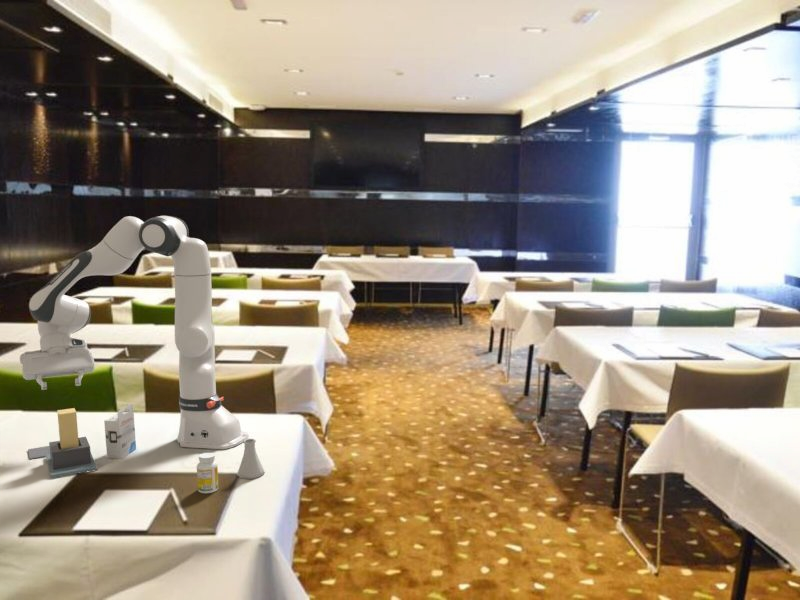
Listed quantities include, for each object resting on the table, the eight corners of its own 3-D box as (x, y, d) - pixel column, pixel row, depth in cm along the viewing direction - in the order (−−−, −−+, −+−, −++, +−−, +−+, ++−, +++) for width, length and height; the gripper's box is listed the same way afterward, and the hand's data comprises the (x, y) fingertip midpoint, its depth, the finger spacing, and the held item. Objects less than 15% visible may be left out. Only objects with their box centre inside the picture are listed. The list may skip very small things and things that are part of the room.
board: (46, 458, 225) (45, 455, 224) (89, 451, 230) (88, 447, 230) (51, 478, 209) (50, 475, 209) (97, 470, 215) (96, 466, 214)
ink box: (122, 448, 232) (119, 402, 230) (136, 449, 231) (133, 402, 229) (106, 458, 224) (102, 410, 222) (121, 459, 223) (117, 411, 221)
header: (50, 458, 221) (49, 442, 221) (87, 452, 226) (85, 436, 225) (53, 469, 213) (52, 452, 212) (91, 463, 217) (90, 446, 217)
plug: (61, 456, 220) (57, 410, 218) (78, 453, 222) (74, 408, 220) (62, 461, 216) (58, 414, 214) (79, 458, 218) (76, 412, 216)
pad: (28, 450, 231) (28, 449, 231) (60, 445, 236) (60, 444, 236) (29, 459, 224) (29, 458, 223) (62, 454, 228) (62, 452, 228)
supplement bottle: (205, 495, 196) (203, 460, 195) (193, 490, 200) (191, 455, 198) (222, 489, 201) (221, 454, 199) (210, 484, 204) (208, 450, 202)
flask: (251, 481, 206) (250, 446, 204) (232, 476, 209) (230, 442, 208) (269, 472, 212) (268, 438, 210) (250, 468, 215) (248, 434, 214)
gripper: (18, 346, 227) (22, 385, 220) (91, 339, 237) (97, 376, 230) (19, 358, 232) (23, 396, 225) (90, 351, 241) (96, 387, 234)
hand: (61, 386), depth 227 cm, fingers open, 8 cm apart
